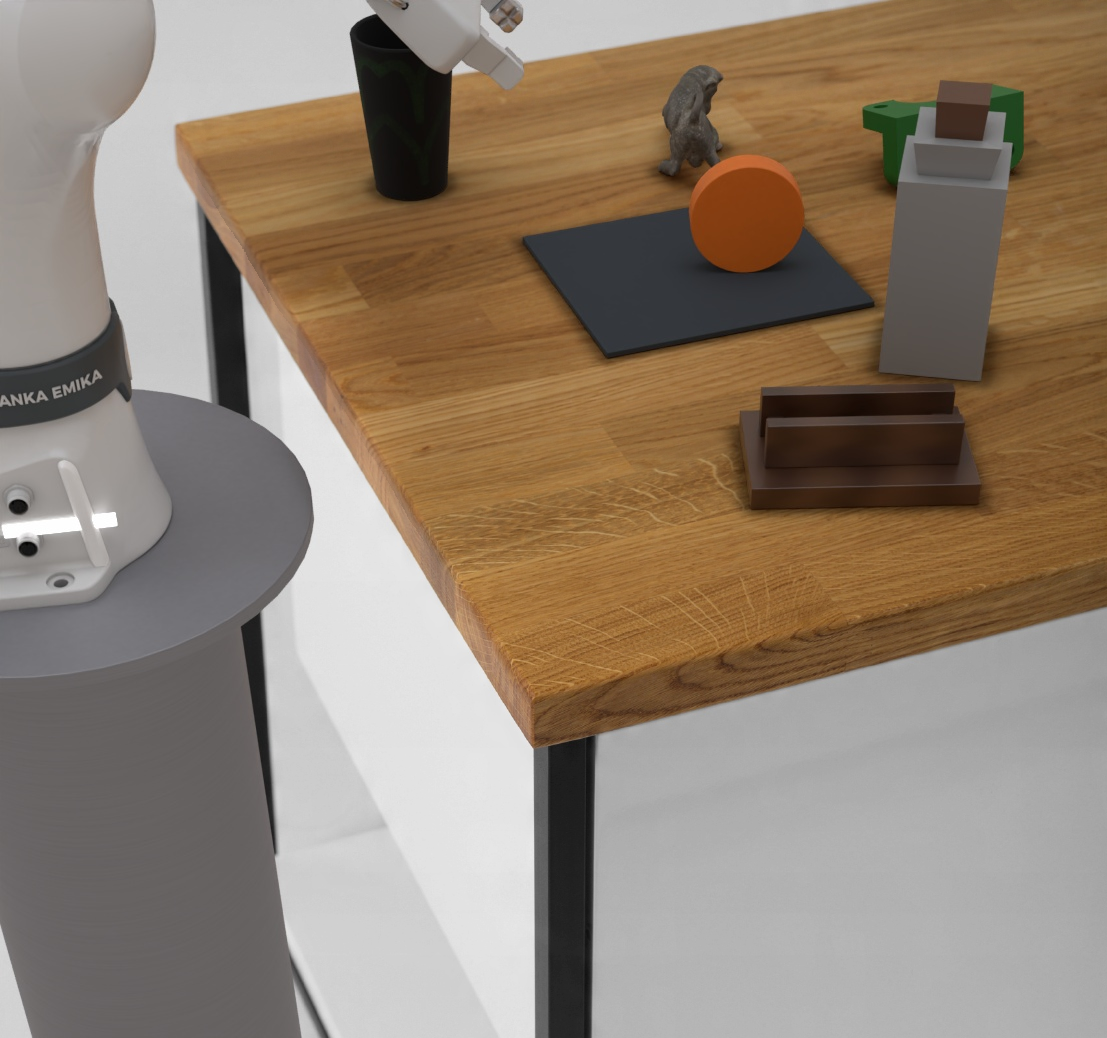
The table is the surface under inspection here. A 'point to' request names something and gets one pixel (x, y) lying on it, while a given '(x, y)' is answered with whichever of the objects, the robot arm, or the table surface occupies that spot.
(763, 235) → the disc
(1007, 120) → the clamp
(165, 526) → the robot arm
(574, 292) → the mat
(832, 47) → the table surface
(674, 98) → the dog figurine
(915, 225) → the perfume bottle
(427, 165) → the cup
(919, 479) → the rack
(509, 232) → the table surface
